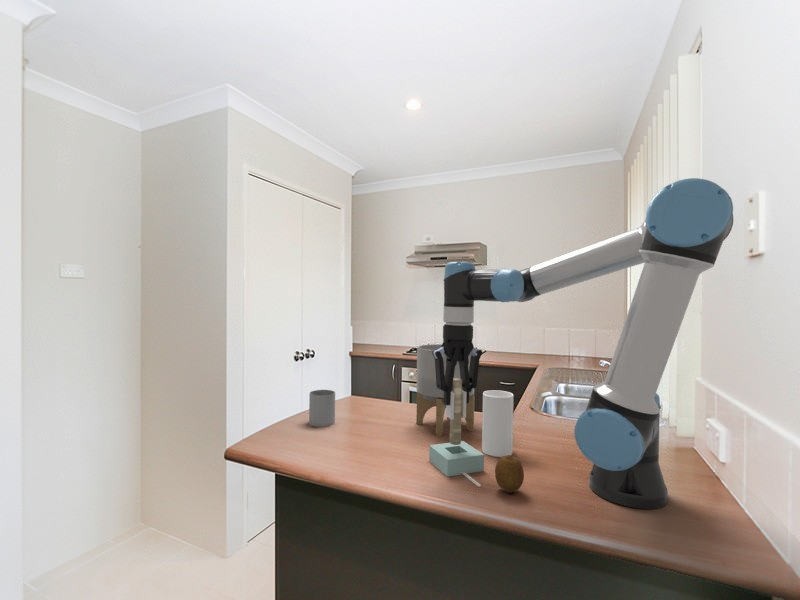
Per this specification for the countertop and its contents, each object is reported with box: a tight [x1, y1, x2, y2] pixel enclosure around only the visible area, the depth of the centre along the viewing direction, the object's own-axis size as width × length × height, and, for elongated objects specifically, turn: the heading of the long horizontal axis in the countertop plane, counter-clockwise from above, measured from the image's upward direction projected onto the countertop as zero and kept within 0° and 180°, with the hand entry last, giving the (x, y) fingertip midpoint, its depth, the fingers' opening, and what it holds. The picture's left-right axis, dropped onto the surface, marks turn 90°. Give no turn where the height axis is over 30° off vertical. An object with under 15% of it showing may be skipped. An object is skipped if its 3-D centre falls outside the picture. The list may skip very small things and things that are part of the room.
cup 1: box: [308, 389, 336, 428], centre depth 137 cm, size 8×8×10 cm
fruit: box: [494, 455, 525, 493], centre depth 90 cm, size 6×6×8 cm
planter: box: [415, 343, 476, 437], centre depth 135 cm, size 19×19×26 cm
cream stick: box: [462, 473, 482, 488], centre depth 96 cm, size 7×1×1 cm, turn 21°
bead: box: [428, 440, 485, 478], centre depth 104 cm, size 10×10×4 cm
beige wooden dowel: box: [449, 379, 462, 445], centre depth 104 cm, size 3×3×16 cm
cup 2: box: [481, 389, 514, 458], centre depth 114 cm, size 8×8×16 cm
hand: (455, 416), depth 104 cm, fingers closed on beige wooden dowel, 3 cm apart
